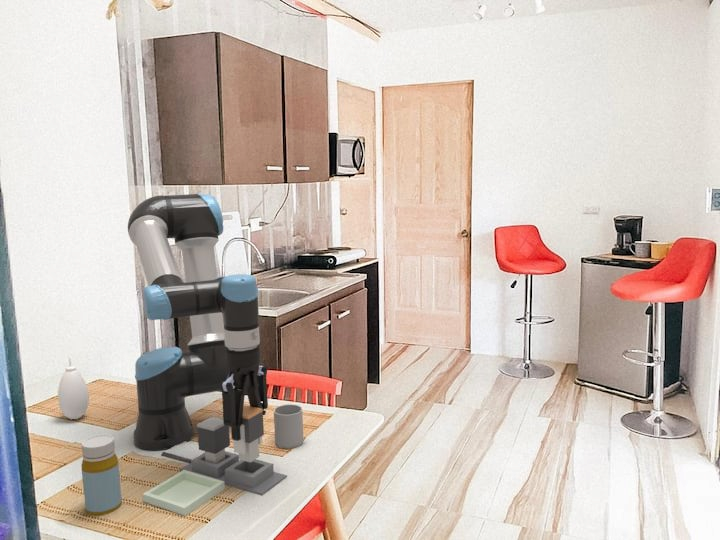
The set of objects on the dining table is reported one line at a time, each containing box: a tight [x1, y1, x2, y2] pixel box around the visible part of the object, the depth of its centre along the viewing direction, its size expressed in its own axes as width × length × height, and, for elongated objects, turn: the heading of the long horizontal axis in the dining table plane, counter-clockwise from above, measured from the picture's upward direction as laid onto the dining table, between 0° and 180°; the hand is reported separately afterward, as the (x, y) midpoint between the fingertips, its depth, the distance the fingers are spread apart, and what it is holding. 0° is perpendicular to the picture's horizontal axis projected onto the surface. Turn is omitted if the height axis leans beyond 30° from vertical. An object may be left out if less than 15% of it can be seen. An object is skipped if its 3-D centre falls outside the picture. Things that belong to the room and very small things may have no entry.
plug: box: [230, 404, 265, 462], centre depth 139 cm, size 5×5×11 cm
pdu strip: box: [161, 416, 288, 496], centre depth 144 cm, size 34×9×12 cm, turn 61°
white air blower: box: [57, 357, 90, 420], centre depth 177 cm, size 8×8×18 cm
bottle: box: [81, 434, 123, 516], centre depth 129 cm, size 7×7×15 cm
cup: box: [273, 404, 304, 450], centre depth 160 cm, size 7×10×9 cm
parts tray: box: [142, 470, 226, 517], centre depth 134 cm, size 12×12×2 cm
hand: (248, 447), depth 139 cm, fingers closed on plug, 5 cm apart
